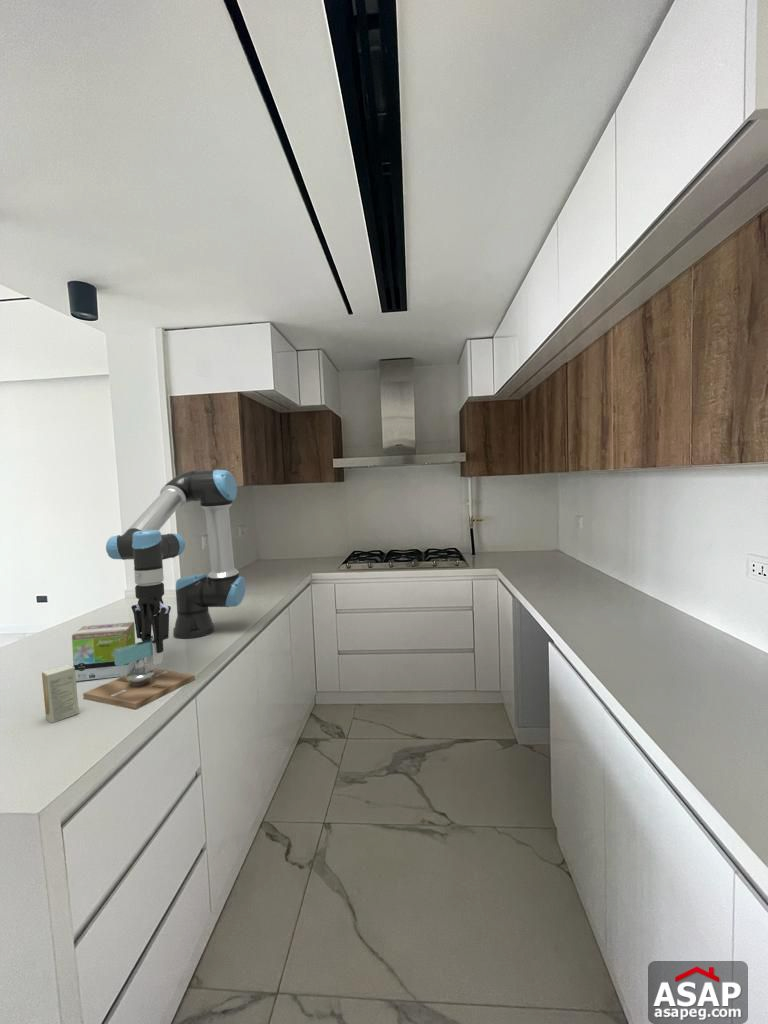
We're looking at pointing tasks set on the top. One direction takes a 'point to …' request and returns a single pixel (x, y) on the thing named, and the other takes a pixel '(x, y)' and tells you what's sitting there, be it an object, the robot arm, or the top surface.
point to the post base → (138, 689)
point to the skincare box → (60, 693)
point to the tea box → (101, 650)
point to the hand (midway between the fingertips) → (154, 662)
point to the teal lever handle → (136, 660)
